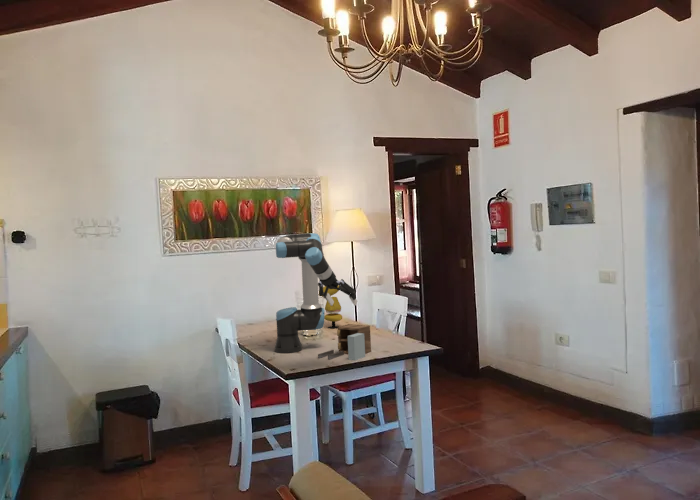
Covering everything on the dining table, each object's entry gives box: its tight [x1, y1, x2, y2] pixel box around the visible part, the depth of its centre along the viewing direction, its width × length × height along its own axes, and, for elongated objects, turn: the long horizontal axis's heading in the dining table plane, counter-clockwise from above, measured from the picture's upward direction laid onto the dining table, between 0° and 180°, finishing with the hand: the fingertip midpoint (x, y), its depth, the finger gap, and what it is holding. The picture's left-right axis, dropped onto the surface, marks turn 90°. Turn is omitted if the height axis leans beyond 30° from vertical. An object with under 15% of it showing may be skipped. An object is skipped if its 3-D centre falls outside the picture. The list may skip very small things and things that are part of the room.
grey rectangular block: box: [347, 333, 366, 362], centre depth 291 cm, size 4×9×12 cm, turn 144°
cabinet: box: [317, 323, 372, 360], centre depth 300 cm, size 17×24×14 cm
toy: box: [321, 285, 343, 330], centre depth 385 cm, size 16×12×30 cm
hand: (344, 303), depth 285 cm, fingers open, 13 cm apart
